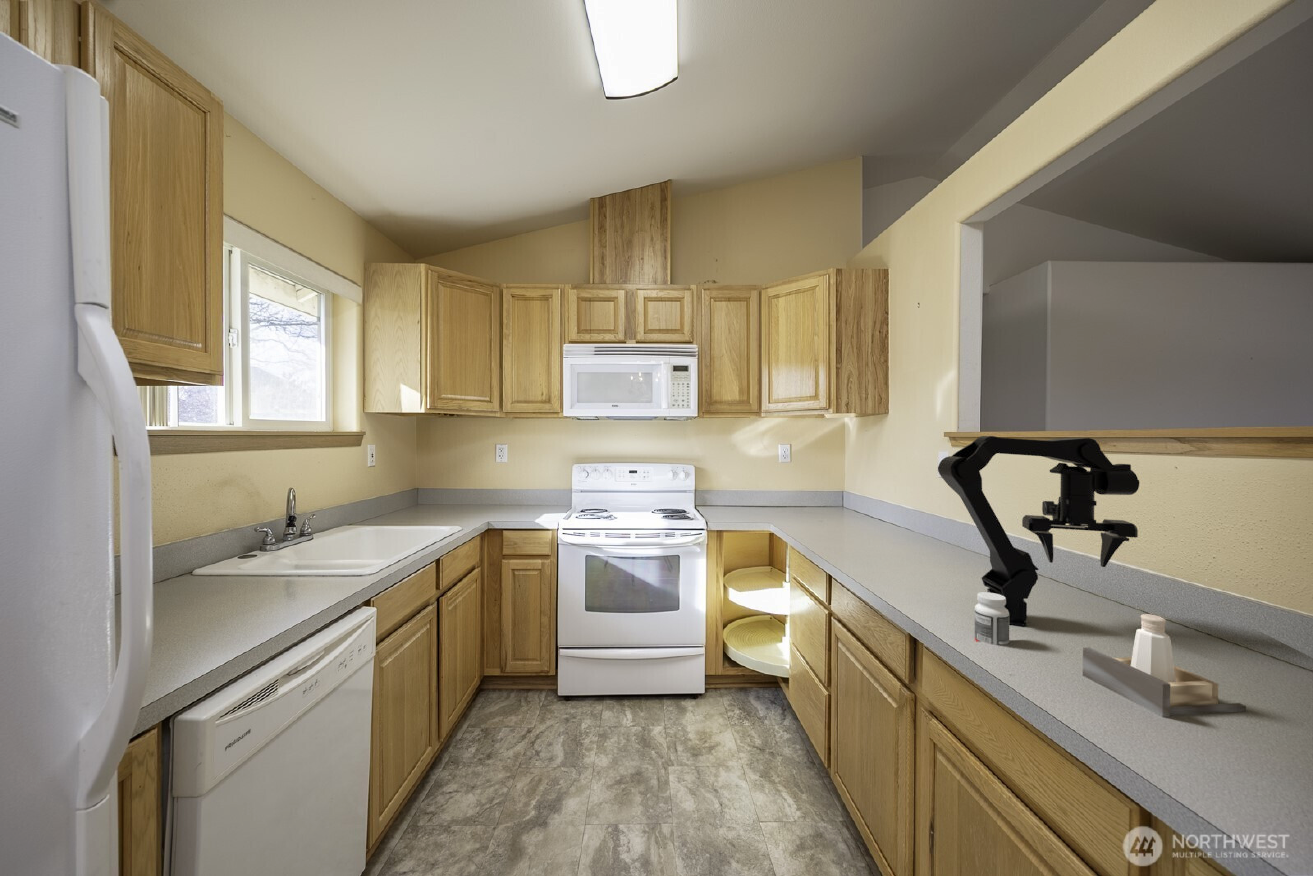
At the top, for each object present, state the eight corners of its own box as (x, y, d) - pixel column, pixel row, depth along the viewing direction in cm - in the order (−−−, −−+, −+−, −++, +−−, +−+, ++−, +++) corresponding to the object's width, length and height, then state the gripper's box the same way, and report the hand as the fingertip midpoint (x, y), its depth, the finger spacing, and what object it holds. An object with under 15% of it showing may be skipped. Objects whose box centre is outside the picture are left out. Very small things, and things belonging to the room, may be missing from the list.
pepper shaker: (1178, 687, 77) (1179, 617, 76) (1175, 699, 73) (1176, 626, 73) (1130, 674, 81) (1131, 608, 81) (1125, 684, 77) (1126, 615, 77)
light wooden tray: (1151, 677, 82) (1152, 656, 82) (1217, 707, 73) (1218, 683, 73) (1102, 679, 81) (1102, 658, 81) (1163, 710, 72) (1163, 686, 72)
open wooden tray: (1135, 668, 88) (1136, 634, 88) (1251, 720, 72) (1252, 680, 72) (1053, 671, 86) (1053, 638, 86) (1152, 726, 70) (1153, 685, 70)
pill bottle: (1003, 641, 99) (1004, 592, 98) (1013, 653, 93) (1014, 602, 93) (970, 637, 100) (971, 589, 100) (979, 649, 95) (979, 598, 95)
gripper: (1114, 492, 112) (1113, 560, 112) (1015, 488, 119) (1015, 552, 119) (1139, 498, 101) (1138, 573, 102) (1030, 493, 109) (1029, 563, 109)
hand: (1076, 564), depth 108 cm, fingers open, 9 cm apart
